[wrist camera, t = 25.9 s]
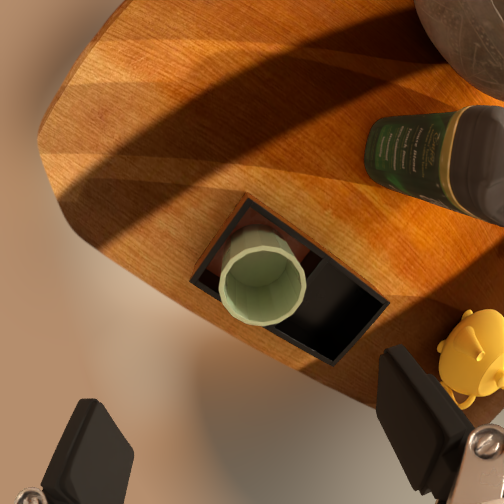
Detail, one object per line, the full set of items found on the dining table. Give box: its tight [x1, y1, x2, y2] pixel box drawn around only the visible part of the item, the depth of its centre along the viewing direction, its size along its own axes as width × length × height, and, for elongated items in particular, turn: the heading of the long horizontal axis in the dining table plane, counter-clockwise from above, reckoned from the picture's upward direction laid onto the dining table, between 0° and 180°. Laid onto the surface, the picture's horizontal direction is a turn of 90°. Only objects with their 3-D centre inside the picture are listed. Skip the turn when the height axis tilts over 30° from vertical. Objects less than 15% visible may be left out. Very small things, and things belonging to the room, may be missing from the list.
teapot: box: [437, 309, 504, 410], centre depth 33 cm, size 20×15×12 cm
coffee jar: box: [364, 105, 504, 227], centre depth 22 cm, size 10×8×19 cm
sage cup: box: [218, 224, 306, 326], centre depth 28 cm, size 7×7×8 cm
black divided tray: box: [189, 192, 390, 367], centre depth 32 cm, size 18×9×5 cm, turn 54°
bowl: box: [414, 0, 504, 101], centre depth 19 cm, size 21×21×15 cm
